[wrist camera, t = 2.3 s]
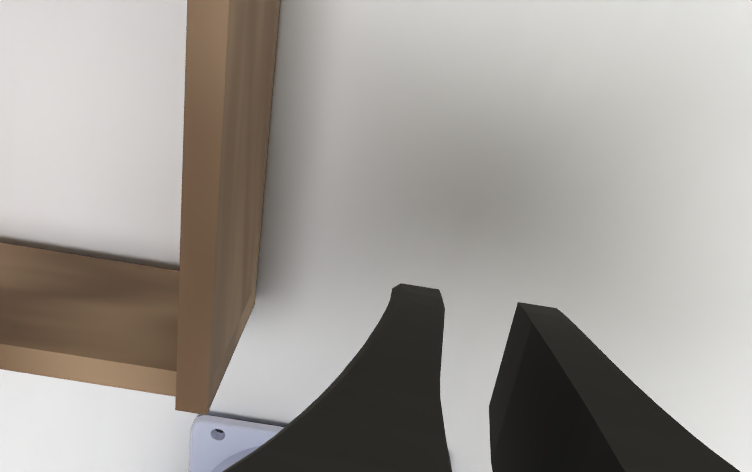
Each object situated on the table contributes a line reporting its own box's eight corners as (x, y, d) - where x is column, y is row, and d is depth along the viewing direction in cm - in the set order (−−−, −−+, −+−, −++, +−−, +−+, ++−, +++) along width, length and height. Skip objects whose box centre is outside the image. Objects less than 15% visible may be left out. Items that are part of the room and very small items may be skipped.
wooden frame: (294, -127, 17) (237, -150, 12) (255, 317, 23) (205, 439, 18) (-168, -204, 17) (-437, -262, 12) (-92, 262, 23) (-251, 367, 17)
